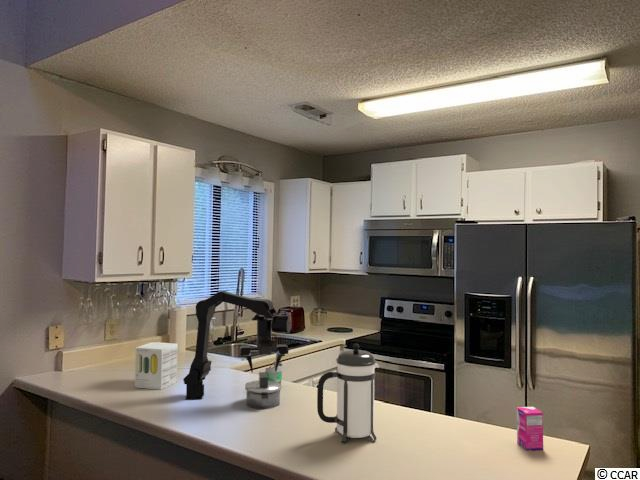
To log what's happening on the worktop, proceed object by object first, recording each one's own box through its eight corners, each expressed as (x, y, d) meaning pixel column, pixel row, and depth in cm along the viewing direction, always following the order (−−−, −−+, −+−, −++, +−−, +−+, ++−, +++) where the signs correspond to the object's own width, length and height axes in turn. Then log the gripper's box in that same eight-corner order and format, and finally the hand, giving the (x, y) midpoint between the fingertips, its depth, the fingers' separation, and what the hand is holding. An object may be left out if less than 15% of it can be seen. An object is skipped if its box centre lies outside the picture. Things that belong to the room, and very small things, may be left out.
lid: (245, 394, 177) (245, 380, 177) (244, 383, 191) (244, 370, 191) (282, 392, 180) (283, 378, 180) (279, 382, 193) (279, 369, 194)
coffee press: (347, 423, 164) (348, 337, 165) (387, 435, 154) (387, 343, 155) (315, 438, 151) (316, 344, 152) (356, 452, 141) (357, 351, 142)
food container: (278, 392, 200) (279, 369, 200) (265, 391, 201) (265, 368, 201) (286, 384, 212) (287, 362, 212) (273, 383, 213) (273, 361, 213)
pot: (247, 411, 176) (247, 394, 176) (245, 397, 192) (245, 383, 192) (281, 409, 178) (282, 393, 179) (277, 396, 194) (277, 381, 195)
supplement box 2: (516, 443, 149) (516, 406, 150) (534, 442, 150) (534, 406, 150) (525, 450, 144) (525, 412, 144) (544, 450, 144) (544, 412, 144)
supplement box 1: (133, 387, 205) (134, 347, 205) (151, 379, 217) (152, 341, 218) (161, 390, 201) (162, 348, 202) (177, 381, 214) (178, 343, 215)
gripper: (240, 336, 176) (240, 378, 176) (290, 334, 180) (290, 376, 179) (240, 331, 187) (239, 370, 187) (286, 330, 191) (286, 369, 190)
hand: (263, 371), depth 185 cm, fingers open, 9 cm apart
